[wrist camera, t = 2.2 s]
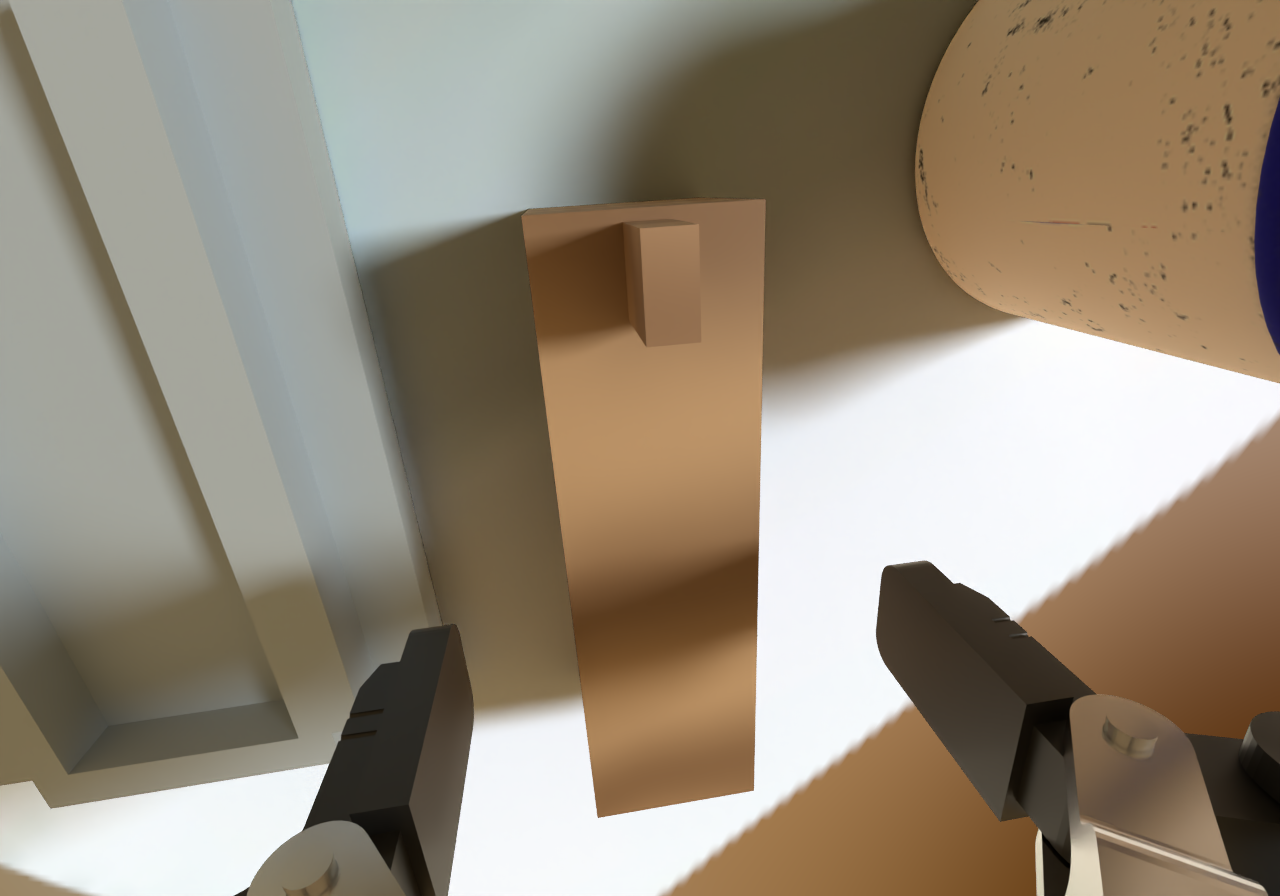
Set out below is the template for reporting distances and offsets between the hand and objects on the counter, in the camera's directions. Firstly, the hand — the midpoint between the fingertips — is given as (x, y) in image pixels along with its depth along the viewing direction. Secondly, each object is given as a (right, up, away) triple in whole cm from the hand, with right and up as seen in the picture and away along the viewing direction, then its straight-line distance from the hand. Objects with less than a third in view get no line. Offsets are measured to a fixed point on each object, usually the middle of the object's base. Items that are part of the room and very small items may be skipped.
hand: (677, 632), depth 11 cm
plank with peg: (-1, +3, +6) cm, 7 cm away
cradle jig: (-13, +4, +3) cm, 14 cm away
